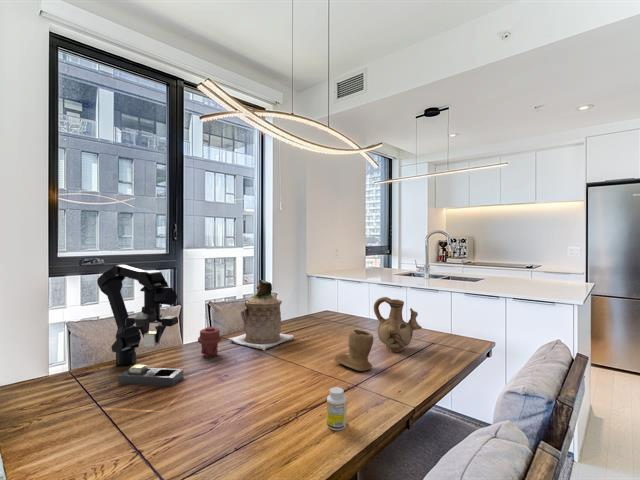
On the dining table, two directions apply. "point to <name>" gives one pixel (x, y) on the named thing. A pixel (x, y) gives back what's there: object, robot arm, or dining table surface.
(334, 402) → the supplement bottle
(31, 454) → the dining table surface
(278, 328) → the cookie jar
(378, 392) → the dining table surface
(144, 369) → the beige block
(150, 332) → the cream two-tone block
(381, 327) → the ceramic vessel
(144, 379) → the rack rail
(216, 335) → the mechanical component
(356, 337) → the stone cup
